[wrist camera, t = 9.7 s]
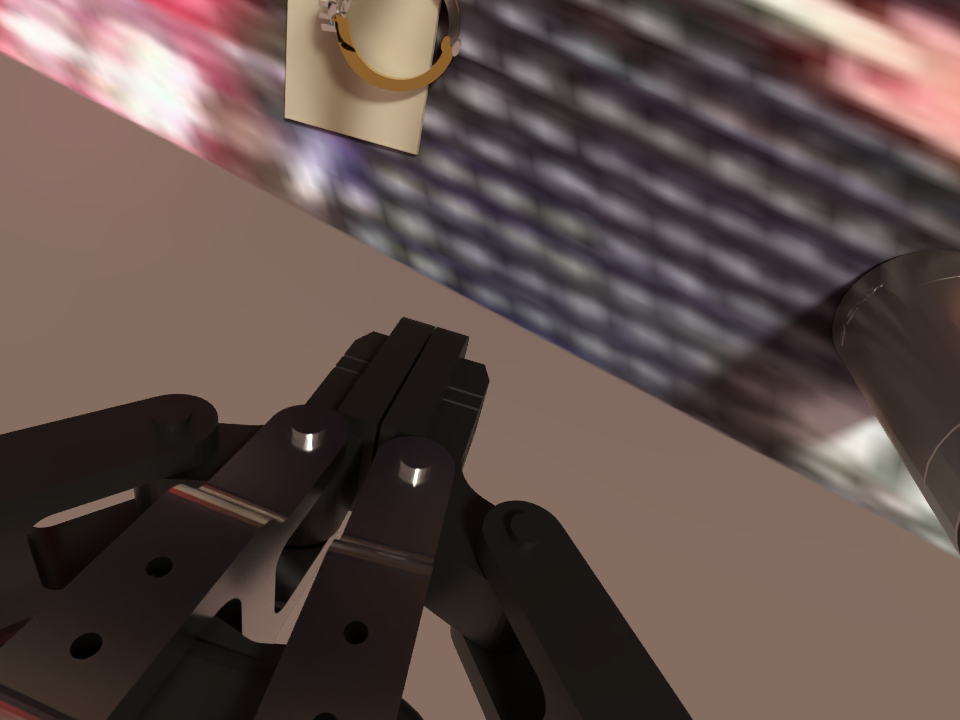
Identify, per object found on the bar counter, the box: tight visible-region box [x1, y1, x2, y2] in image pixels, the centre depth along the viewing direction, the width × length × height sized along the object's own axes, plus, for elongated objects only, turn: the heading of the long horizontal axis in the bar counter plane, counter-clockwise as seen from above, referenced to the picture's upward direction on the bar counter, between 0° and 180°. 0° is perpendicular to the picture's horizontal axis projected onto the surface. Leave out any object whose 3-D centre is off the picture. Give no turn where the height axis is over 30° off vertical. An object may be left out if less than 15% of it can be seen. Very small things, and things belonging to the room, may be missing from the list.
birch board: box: [285, 0, 442, 155], centre depth 34 cm, size 9×13×1 cm
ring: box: [318, 0, 461, 91], centre depth 33 cm, size 7×3×8 cm
